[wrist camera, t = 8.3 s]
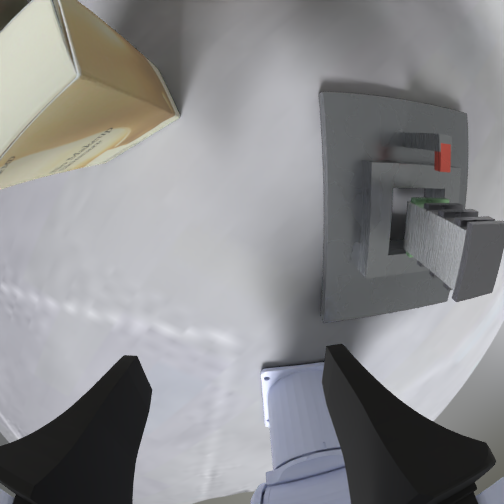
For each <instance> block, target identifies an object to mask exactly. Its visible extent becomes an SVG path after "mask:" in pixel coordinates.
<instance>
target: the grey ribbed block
mask: <svg viewBox="0 0 504 504" xmlns="http://www.w3.org/2000/svg"><path fill="white" fill-rule="evenodd" d="M403 249H404V250H406V255H407V256H408V257H414V258H416V259H417V264H418V265H419V266H420V267H427V268H428V269H429V270H430V272H429V274H430V275H431V276H432V277H433V278H437V277H439V278H440V279H441V280H442V281H443V287H444V288H446V289H447V290H453V291H454V292H453V296H452V299H453V300H454V301H455V302H459V301H463V300H467V299H471V298H474V297H478V296H482V295H485V294H489V293H492V291H493V288H494V285H495V281H496V278H497V274H498V270H499V266H500V262H501V258H502V253H503V249H504V221H495V219H493V218H491V217H478V211H475V210H473V209H463V205H461V204H459V203H449V199H447V198H419V197H411V201H409V202H407V216H406V227H405V237H404V246H403Z"/></svg>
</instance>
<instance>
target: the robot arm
mask: <svg viewBox="0 0 504 504" xmlns="http://www.w3.org/2000/svg"><path fill="white" fill-rule="evenodd" d="M266 377H267V378H266ZM261 384H262V396H263V408H264V420H265V426H266V427H270V439H271V451H272V462H273V471H269V472H266V483H263V484H260V485H259V486H258V487H257V489H256V491H255V493H254V494H253V496H252V499H251V504H504V477H502V478H501V479H499V480H498V481H497V482H495V483H494V484H493V485H492V486H490V487H489V488H487V489H486V490H484V491H483V492H481V493H480V494H478V495H477V496H475V495H474V491H475V490H476V489H477V487H476V484H475V481H476V480H478V479H479V478H480V477H481V476H483V475H484V474H485V473H486V472H488V471H489V470H490V469H491V468H492V467H493V466H494V465H495V462H496V460H495V458H494V456H493V454H492V452H491V450H490V448H489V447H488V445H487V444H486V443H485V442H482V441H478V440H475V439H472V438H469V437H466V436H463V435H460V434H458V433H455V432H453V431H451V430H448V429H446V428H444V427H442V426H440V425H438V424H436V423H435V422H433V421H431V420H429V419H427V418H426V417H424V416H422V415H421V414H419V413H418V412H416V411H414V410H413V409H412V408H410V407H409V406H407V405H406V404H405V403H403V402H402V401H401V400H399V399H398V398H397V397H396V396H394V395H393V394H392V393H391V392H390V391H389V390H387V389H386V388H385V387H384V386H383V385H382V384H381V383H380V382H379V381H377V380H376V379H375V378H374V377H373V376H372V375H371V374H370V373H369V372H368V371H367V370H366V369H365V368H364V367H363V366H362V365H361V364H360V363H359V361H358V360H357V359H356V358H355V357H354V356H353V355H352V354H351V353H350V352H349V351H348V350H347V348H346V347H345V346H344V345H343V344H338V345H331V346H326V353H325V362H319V363H312V364H304V365H296V366H287V367H277V368H266V369H263V370H262V371H261ZM151 395H152V388H151V386H150V384H149V382H148V380H147V377H146V375H145V373H144V371H143V368H142V366H141V364H140V361H139V359H138V357H137V356H127V355H124V356H123V357H122V358H121V359H120V360H119V361H118V362H117V363H116V364H115V365H114V366H113V367H112V368H111V369H110V370H109V371H108V372H107V373H106V374H105V375H104V376H103V377H102V378H101V379H100V380H99V381H98V382H97V383H96V384H95V385H94V386H93V387H92V388H91V389H90V390H89V391H88V392H87V393H86V394H85V395H83V396H82V397H81V398H80V399H79V400H78V401H77V402H76V403H75V404H74V405H72V406H71V407H70V408H69V409H68V410H66V411H65V412H64V413H63V414H61V415H60V416H59V417H57V418H56V419H54V420H53V421H51V422H50V423H48V424H47V425H45V426H43V427H42V428H40V429H39V430H37V431H35V432H33V433H31V434H29V435H28V436H25V437H23V438H21V439H19V440H17V441H14V442H11V443H9V444H6V445H3V446H0V483H2V484H3V485H4V486H5V487H7V488H8V489H9V490H11V491H12V492H14V493H15V494H16V496H15V498H13V497H12V496H10V495H9V494H7V493H6V492H4V491H3V490H1V489H0V504H132V496H133V480H134V471H135V463H136V458H137V454H138V450H139V446H140V442H141V439H142V435H143V432H144V428H145V424H146V421H147V417H148V414H149V409H150V402H151Z"/></svg>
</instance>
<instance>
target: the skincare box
mask: <svg viewBox="0 0 504 504" xmlns="http://www.w3.org/2000/svg"><path fill="white" fill-rule="evenodd" d="M179 118H180V114H179V112H178V110H177V108H176V105H175V103H174V101H173V99H172V97H171V95H170V92H169V90H168V88H167V86H166V84H165V82H164V80H163V78H162V76H161V74H160V72H159V70H158V68H157V67H156V66H154V65H153V64H152V63H151V62H150V61H149V60H148V59H147V58H146V57H145V56H144V55H143V54H141V53H140V52H139V51H138V50H137V49H135V48H134V47H133V46H132V45H131V44H130V43H129V42H128V41H126V40H125V39H124V38H123V37H122V36H121V35H119V34H118V33H117V32H116V31H115V30H113V29H112V28H111V27H110V26H108V25H107V24H106V23H105V22H104V21H102V20H101V19H100V18H99V17H98V16H96V15H95V14H94V13H93V12H91V11H90V10H89V9H88V8H86V7H85V6H84V5H82V4H81V3H80V2H78V1H77V0H32V1H31V2H30V3H29V4H27V5H26V6H25V7H24V8H23V9H22V10H21V11H20V12H19V13H18V14H17V15H16V16H15V17H14V18H13V19H12V20H11V21H10V22H9V23H8V24H7V25H6V26H5V27H4V29H3V30H2V31H1V32H0V190H1V189H4V188H7V187H10V186H13V185H17V184H20V183H23V182H27V181H30V180H34V179H38V178H41V177H45V176H49V175H53V174H57V173H61V172H66V171H70V170H74V169H78V168H83V167H89V166H94V165H99V164H104V163H107V162H109V161H110V160H112V159H113V158H115V157H117V156H118V155H120V154H122V153H123V152H125V151H126V150H128V149H130V148H131V147H133V146H135V145H136V144H138V143H139V142H141V141H143V140H144V139H146V138H148V137H149V136H151V135H152V134H154V133H155V132H157V131H159V130H160V129H162V128H164V127H165V126H167V125H169V124H170V123H172V122H174V121H175V120H177V119H179Z"/></svg>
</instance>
